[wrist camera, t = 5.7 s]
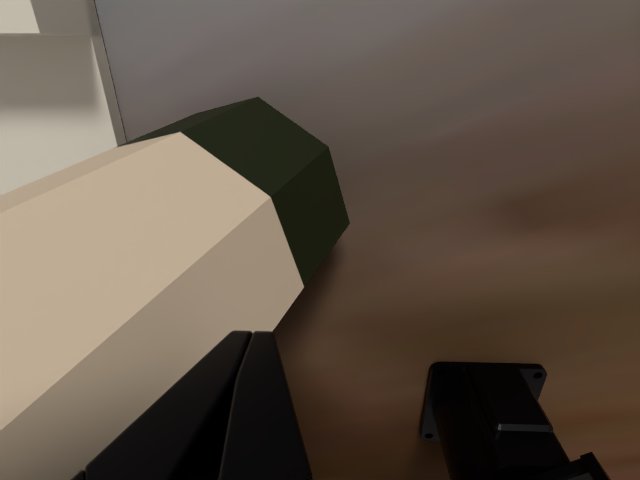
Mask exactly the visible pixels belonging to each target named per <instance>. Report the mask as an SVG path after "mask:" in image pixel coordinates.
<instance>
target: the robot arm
mask: <svg viewBox="0 0 640 480" xmlns="http://www.w3.org/2000/svg"><path fill="white" fill-rule="evenodd" d="M439 370H442V371H439ZM546 376H547V373H546V371H545V369H544V368H543V366H542V365H540V364H520V363H478V362H436V363H434V364H433V365H432V366H431V369H430V375H429V381H428V387H427V392H426V398H425V404H424V410H423V416H422V421H421V427H420V433H421V438H422V439H423V440H425V441H440V442H441V446H442V450H443V453H444V457H445V461H446V464H447V468H448V472H449V476H450V479H451V480H611V479H610V478H609V476H608V475H607V473H606V472H605V470H604V469H603V468H602V466H601V465H600V463H599V462H598V460H597V459H596V457H595V456H594V454H593V453H592V452H589V453H587V454H584V455H581V456H580V457H581V458H580V459H577V460H575V461H572V462H570V460H569V458H568V457H567V455H566V453H565V451H564V450H563V448H562V446H561V444H560V443H559V441H558V439H557V437H556V435H555V434H554V432H553V427H552V425H551V423H550V421H549V420H548V418H547V416H546V414H545V413H544V411H543V409H542V407H541V406H540V404H539V402H538V398H539V396H540V393H541V390H542V387H543V384H544V382H545V379H546ZM70 480H313V479H312V473H311V469H310V465H309V462H308V458H307V454H306V451H305V447H304V443H303V439H302V436H301V432H300V428H299V424H298V421H297V417H296V413H295V410H294V406H293V402H292V398H291V395H290V391H289V387H288V384H287V380H286V376H285V372H284V369H283V365H282V361H281V358H280V354H279V350H278V346H277V343H276V339H275V335H274V333H273V332H272V331H255V332H253V333H252V332H251V331H247V330H234V331H231V332H230V333H229V334H228V335H227V336H226V337H225V338H223V339H222V340H221V341H220V342H219V343H218V344H217V345H216V346H215V347H214V348H213V349H212V350H210V351H209V352H208V353H207V354H206V355H205V356H204V357H203V358H202V359H201V360H200V361H199V362H197V363H196V364H195V365H194V366H193V367H192V368H191V369H190V370H189V371H188V372H187V373H186V374H184V375H183V376H182V377H181V378H180V379H179V380H178V381H177V382H176V383H175V384H174V385H173V386H171V387H170V388H169V389H168V390H167V391H166V392H165V393H164V394H163V395H162V396H161V397H160V398H158V399H157V400H156V401H155V402H154V403H153V404H152V405H151V406H150V407H149V408H148V409H147V410H145V411H144V412H143V413H142V414H141V415H140V416H139V417H138V418H137V419H136V420H135V421H134V422H132V423H131V424H130V425H129V426H128V427H127V428H126V429H125V430H124V431H123V432H122V433H121V434H119V435H118V436H117V437H116V438H115V439H114V440H113V441H112V442H111V443H110V444H109V445H108V446H106V447H105V448H104V449H103V450H102V451H101V452H100V453H99V454H98V455H97V456H96V457H95V458H94V459H92V460H91V461H90V462H89V463H88V464H87V465H86V467H85V471H84V470H81V471H79V472H78V473H77V474H76V475H75V476H74V477H73V478H72V479H70Z"/></svg>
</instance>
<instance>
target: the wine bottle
mask: <svg viewBox="0 0 640 480" xmlns="http://www.w3.org/2000/svg"><path fill="white" fill-rule="evenodd" d="M349 224H350V222H349V219H348V215H347V211H346V208H345V204H344V201H343V197H342V194H341V190H340V186H339V183H338V179H337V176H336V172H335V168H334V165H333V161H332V158H331V154H330V150H329V147H328V146H327V145H325V144H324V143H322V142H321V141H320V140H318V139H317V138H315V137H314V136H313V135H311V134H310V133H308V132H307V131H305V130H304V129H303V128H301V127H300V126H298V125H297V124H296V123H294V122H293V121H291V120H290V119H289V118H287V117H286V116H284V115H283V114H281V113H280V112H279V111H277V110H276V109H274V108H273V107H272V106H270V105H269V104H267V103H266V102H265V101H263V100H262V99H260V98H259V97H256V98H252V99H248V100H244V101H241V102H237V103H233V104H230V105H226V106H222V107H218V108H215V109H211V110H207V111H204V112H200V113H196V114H194V115H191V116H189V117H187V118H184V119H182V120H179V121H177V122H175V123H172V124H170V125H167V126H165V127H163V128H160V129H158V130H156V131H153V132H151V133H148V134H146V135H144V136H141V137H139V138H136V139H134V140H132V141H129V142H127V143H124V144H122V145H120V146H117V147H115V148H112V149H110V150H108V151H105V152H103V153H100V154H98V155H96V156H93V157H91V158H88V159H86V160H84V161H81V162H79V163H77V164H74V165H72V166H69V167H67V168H65V169H62V170H60V171H57V172H55V173H53V174H50V175H48V176H45V177H43V178H41V179H38V180H36V181H33V182H31V183H29V184H26V185H24V186H21V187H19V188H17V189H14V190H12V191H9V192H7V193H5V194H2V195H0V480H70V479H72V478H73V477H74V476H75V475H76V474H77V473H78V472H79V471H81V470H84V471H85V467H86V465H87V464H88V463H89V462H90V461H91V460H92V459H94V458H95V457H96V456H97V455H98V454H99V453H100V452H101V451H102V450H103V449H104V448H105V447H106V446H108V445H109V444H110V443H111V442H112V441H113V440H114V439H115V438H116V437H117V436H118V435H119V434H121V433H122V432H123V431H124V430H125V429H126V428H127V427H128V426H129V425H130V424H131V423H132V422H134V421H135V420H136V419H137V418H138V417H139V416H140V415H141V414H142V413H143V412H144V411H145V410H147V409H148V408H149V407H150V406H151V405H152V404H153V403H154V402H155V401H156V400H157V399H158V398H160V397H161V396H162V395H163V394H164V393H165V392H166V391H167V390H168V389H169V388H170V387H171V386H173V385H174V384H175V383H176V382H177V381H178V380H179V379H180V378H181V377H182V376H183V375H184V374H186V373H187V372H188V371H189V370H190V369H191V368H192V367H193V366H194V365H195V364H196V363H197V362H199V361H200V360H201V359H202V358H203V357H204V356H205V355H206V354H207V353H208V352H209V351H210V350H212V349H213V348H214V347H215V346H216V345H217V344H218V343H219V342H220V341H221V340H222V339H223V338H225V337H226V336H227V335H228V334H229V333H230V332H231V331H234V330H247V331H251V332H252V333H253V332H255V331H273V330H274V329H275V327H276V326H277V324H278V323H279V322H280V320H281V319H282V317H283V316H284V315H285V313H286V312H287V310H288V309H289V308H290V306H291V305H292V303H293V302H294V301H295V299H296V298H297V296H298V295H299V294H300V292H301V291H302V289H303V288H304V287H305V285H306V284H307V282H308V281H309V280H310V278H311V277H312V275H313V274H314V273H315V271H316V270H317V268H318V267H319V266H320V264H321V263H322V261H323V260H324V259H325V257H326V256H327V254H328V253H329V252H330V250H331V249H332V247H333V246H334V245H335V243H336V242H337V240H338V239H339V238H340V236H341V235H342V233H343V232H344V231H345V229H346V228H347V226H348V225H349Z"/></svg>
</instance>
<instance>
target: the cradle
mask: <svg viewBox="0 0 640 480" xmlns="http://www.w3.org/2000/svg"><path fill="white" fill-rule="evenodd" d="M124 143H127V142H126V138H125V134H124V129H123V125H122V121H121V116H120V112H119V108H118V103H117V99H116V95H115V90H114V86H113V82H112V77H111V73H110V69H109V64H108V60H107V55H106V51H105V47H104V42H103V38H102V34H101V29H100V25H99V21H98V16H97V12H96V8H95V3H94V0H0V195H2V194H5V193H7V192H9V191H12V190H14V189H17V188H19V187H21V186H24V185H26V184H29V183H31V182H33V181H36V180H38V179H41V178H43V177H45V176H48V175H50V174H53V173H55V172H57V171H60V170H62V169H65V168H67V167H69V166H72V165H74V164H77V163H79V162H81V161H84V160H86V159H88V158H91V157H93V156H96V155H98V154H100V153H103V152H105V151H108V150H110V149H112V148H115V147H117V146H120V145H122V144H124Z"/></svg>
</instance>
